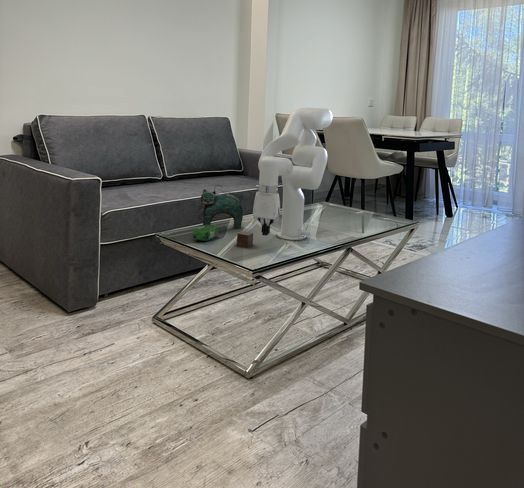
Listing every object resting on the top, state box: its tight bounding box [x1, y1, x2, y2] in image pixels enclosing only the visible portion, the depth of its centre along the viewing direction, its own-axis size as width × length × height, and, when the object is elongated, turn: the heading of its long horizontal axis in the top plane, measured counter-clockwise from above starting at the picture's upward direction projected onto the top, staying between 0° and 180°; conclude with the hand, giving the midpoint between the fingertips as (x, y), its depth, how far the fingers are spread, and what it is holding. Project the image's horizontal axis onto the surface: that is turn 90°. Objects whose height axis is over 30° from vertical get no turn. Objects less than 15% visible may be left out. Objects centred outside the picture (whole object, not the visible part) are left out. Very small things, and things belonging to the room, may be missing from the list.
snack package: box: [192, 224, 220, 242], centre depth 209 cm, size 7×16×5 cm, turn 161°
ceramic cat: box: [200, 184, 244, 229], centre depth 231 cm, size 20×6×20 cm, turn 99°
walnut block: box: [236, 230, 254, 249], centre depth 203 cm, size 5×5×5 cm
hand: (265, 234), depth 199 cm, fingers closed
